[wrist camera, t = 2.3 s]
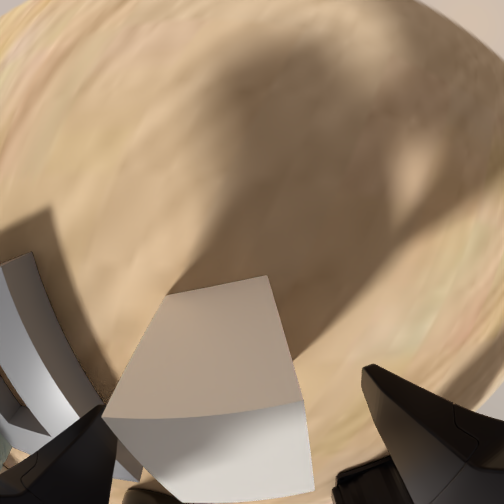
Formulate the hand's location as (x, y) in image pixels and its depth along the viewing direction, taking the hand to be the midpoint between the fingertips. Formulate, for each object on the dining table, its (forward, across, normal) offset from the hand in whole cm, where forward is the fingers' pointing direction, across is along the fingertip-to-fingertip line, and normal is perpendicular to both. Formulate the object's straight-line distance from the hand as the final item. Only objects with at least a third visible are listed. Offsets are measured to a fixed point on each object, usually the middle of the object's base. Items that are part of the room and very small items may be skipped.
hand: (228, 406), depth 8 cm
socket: (+4, +17, +2) cm, 18 cm away
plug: (+4, 0, 0) cm, 4 cm away
